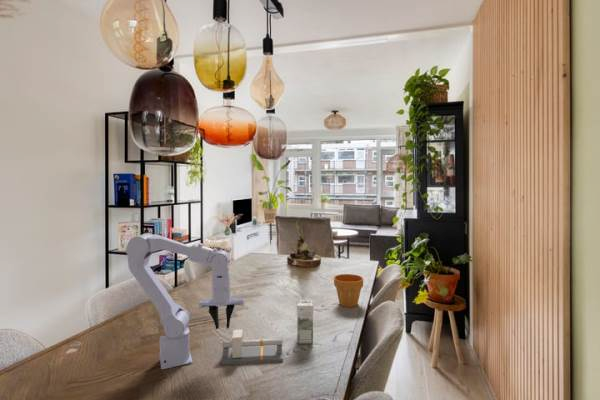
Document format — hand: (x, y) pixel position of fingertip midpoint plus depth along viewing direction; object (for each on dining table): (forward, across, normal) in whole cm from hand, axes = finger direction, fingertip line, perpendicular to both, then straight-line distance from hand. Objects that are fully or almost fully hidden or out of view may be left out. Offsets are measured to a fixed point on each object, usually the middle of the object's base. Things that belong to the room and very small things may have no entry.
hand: (222, 327), depth 110 cm
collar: (+9, +5, 0) cm, 10 cm away
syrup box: (+11, +28, +9) cm, 32 cm away
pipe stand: (+11, +10, 0) cm, 14 cm away
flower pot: (+12, +54, +46) cm, 72 cm away
